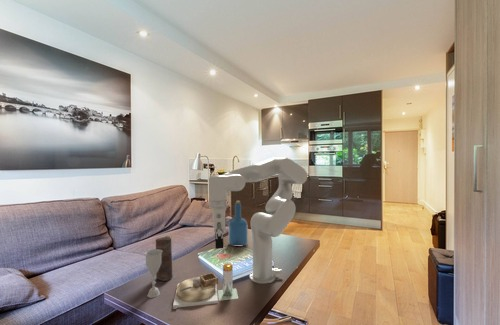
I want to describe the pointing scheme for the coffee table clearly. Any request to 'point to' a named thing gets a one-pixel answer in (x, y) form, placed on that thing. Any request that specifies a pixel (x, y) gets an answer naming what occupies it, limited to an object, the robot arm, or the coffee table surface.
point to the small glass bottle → (227, 280)
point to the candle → (165, 258)
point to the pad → (221, 297)
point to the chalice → (153, 269)
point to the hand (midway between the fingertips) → (219, 244)
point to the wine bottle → (238, 228)
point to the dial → (197, 287)
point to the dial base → (182, 303)
